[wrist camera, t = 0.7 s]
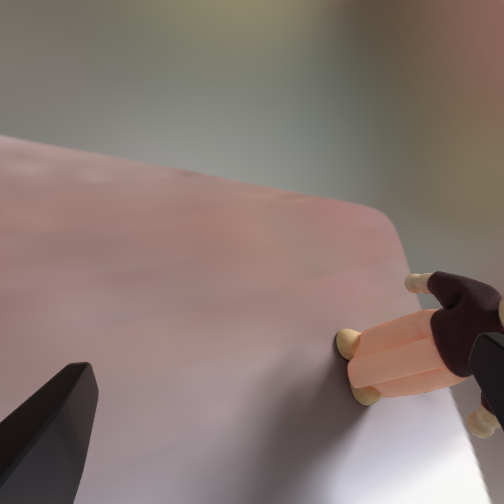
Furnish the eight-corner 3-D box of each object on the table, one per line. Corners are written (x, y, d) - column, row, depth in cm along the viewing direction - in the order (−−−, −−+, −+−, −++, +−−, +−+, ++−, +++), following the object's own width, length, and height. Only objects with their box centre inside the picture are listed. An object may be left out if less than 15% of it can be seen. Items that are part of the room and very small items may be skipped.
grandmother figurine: (312, 322, 22) (516, 197, 12) (356, 308, 24) (562, 190, 14) (373, 457, 19) (705, 444, 9) (416, 427, 21) (728, 391, 11)
